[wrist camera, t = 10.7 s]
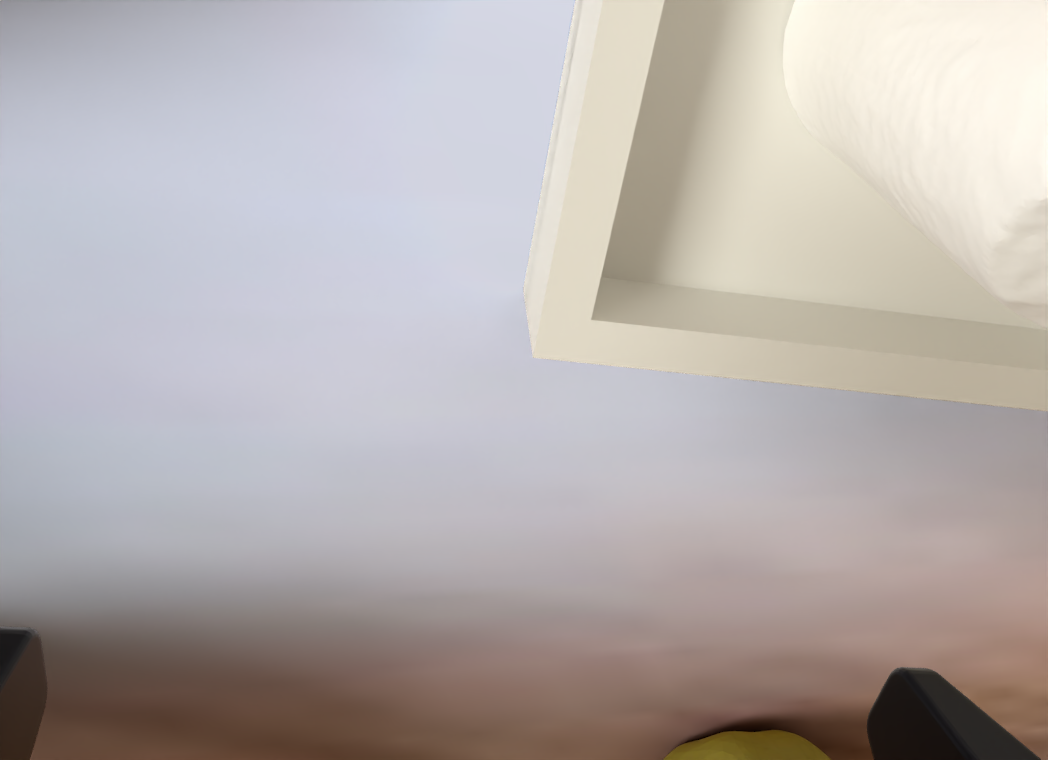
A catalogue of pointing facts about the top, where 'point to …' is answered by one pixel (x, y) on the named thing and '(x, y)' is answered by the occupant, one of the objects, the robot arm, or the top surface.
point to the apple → (749, 747)
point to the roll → (939, 123)
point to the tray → (741, 227)
